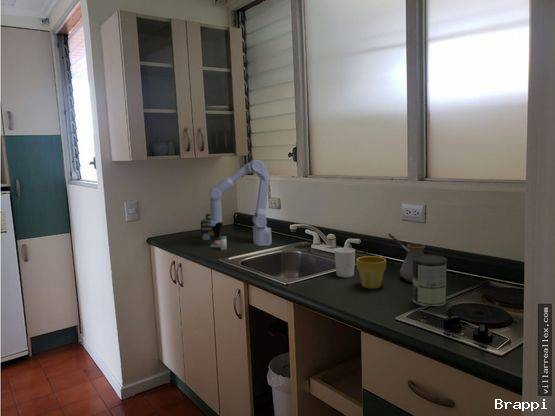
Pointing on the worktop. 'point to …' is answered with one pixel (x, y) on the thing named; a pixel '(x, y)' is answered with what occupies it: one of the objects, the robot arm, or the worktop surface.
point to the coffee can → (429, 280)
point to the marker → (223, 242)
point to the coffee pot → (409, 258)
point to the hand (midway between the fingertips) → (217, 237)
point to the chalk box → (207, 229)
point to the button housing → (215, 245)
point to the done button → (217, 242)
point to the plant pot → (371, 270)
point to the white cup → (345, 262)
